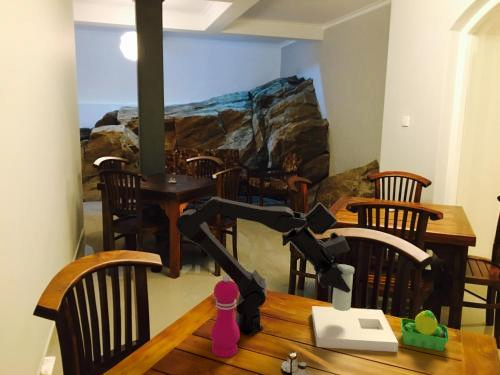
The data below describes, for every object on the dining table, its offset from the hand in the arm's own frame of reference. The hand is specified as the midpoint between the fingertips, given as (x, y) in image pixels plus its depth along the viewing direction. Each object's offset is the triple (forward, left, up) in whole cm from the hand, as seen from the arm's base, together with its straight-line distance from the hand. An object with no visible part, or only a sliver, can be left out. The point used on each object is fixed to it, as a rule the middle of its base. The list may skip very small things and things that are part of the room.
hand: (347, 287), depth 115 cm
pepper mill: (-14, -30, -14) cm, 36 cm away
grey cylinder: (-1, -1, -6) cm, 6 cm away
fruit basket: (+17, +11, -14) cm, 24 cm away
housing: (+1, +1, -13) cm, 14 cm away
